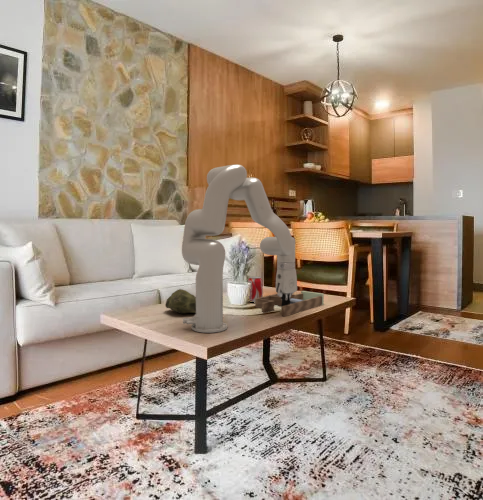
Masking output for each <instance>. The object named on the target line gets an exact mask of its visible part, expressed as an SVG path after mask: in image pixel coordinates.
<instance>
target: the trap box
mask: <svg viewBox="0 0 483 500" xmlns="http://www.w3.org/2000/svg"><path fill="white" fill-rule="evenodd" d="M277 294H278V293H277V292H276V293H274V294H270V295H269V294H268V295H265V296H263V297H260V298H255V303H254V305H255V306H254V307H255V308H256V309H261V313H262V312H263V314H264V313H265V314H266V313H269V312H271V311H272V310H273V311H274V310H275V305H278V306H277V307H280V308H281V317H287V316H291V315H294V314H297V312H298V313H300V311H301V312H304V311H307V310H311V309H314V308H316V307H320V306H323V305H322V296H318V297H314V298H311V299H307V300H303V294H302V293H301V292H300V293H297V294H295V293H294V294H292V295H291V299H292V298H293V299H300V300H303V301H300V302H296V303H292V304H289V305H285V306H282V300H281V297H279V296H277ZM268 311H269V312H268Z"/></svg>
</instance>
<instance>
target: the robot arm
mask: <svg viewBox="0 0 483 500" xmlns="http://www.w3.org/2000/svg"><path fill="white" fill-rule="evenodd" d="M247 176H248V172H247V169H246V168H245V167H244V166H243V165H242V164H230V165H229V164H228V165H224V166H218V167H214V168H212V169H210V170H209V171H208V172H207V175H206V183H207V184H208V186H207V188H206V191H205V195H204V197H203V198H204V200H203V205H202V209H201V208H199V209H197V208H196V209H194V210H192V211H191V212H189V214H188V215H187V217H186V219H185V223H184V228H183V236H182V241H181V242H182V243H181V255H182V258H183V260H184V261H185V262H186V263H188V264H189V265H192V266H193V265H194V266H198V269H197V271H196V276H195V297H196V313H195V314H194V315H193V316H191V317H183V318H182V324H183V325H184V324H185V325H191V330H192V331H194V332H197V333H204V334H209V333H211V334H213V333H219V332H223V331H225V330H227V329H228V324H227V323H226V322H224V317H223V316H224V313H223V312H224V311H223V310H224V309H223V308H224V304H223V303H224V298H223V297H224V292H223V291H224V290H223V287H224V285H223V281H224V280H223V278H224V275H223V274H224V264H225V260H226V249H225V247H224V245H223V244H222V243H221V242H220V241H218V240H216V239H211V238H207V237H206V236H208V237H209V236H212V237H213V236H219V235H221V234H222V233H223V232H224V230H225V226H226V220H227V212H228V206H229V200H230V199H231V200H235V201H244V202H245V204H246V207H247V210H248V211H249V215H250V217H251V219H252V221H253V222H255V223H257V224H258V225H260V226H262V227H264V228H266V229H268V230H269V231H271V233H272V234H273V235H274V236H266V237H264V238H263V239H262V240H261V241H260V243H259V249H260V251H261V253H263V254H265V255H269V256H276V257H277V258H276V275H275V292H276V294H277V293H278V294H277V296H279V297H281V300H282V306H285V305H289V304H290V299H291V295H292V294H294V295H295V293H296V292H297V291H298V276H297V270H296V239H295V237H292V234H291V231H290V229H289V227H288V226H287V224H286V223H285V222H284V221H283V220H282V219H281V218H280V217H279V216H278V215H277V214H276V213H274V211H273V209H272V206H271V204H270V201H269V198H268V195H267V193H266V191H265V188H264V185H263V183H262V181H261V180H260V179H259V178H257V177H247Z"/></svg>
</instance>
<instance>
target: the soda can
mask: <svg viewBox="0 0 483 500" xmlns="http://www.w3.org/2000/svg"><path fill="white" fill-rule="evenodd" d="M248 282H250V283H251V289H250V296H249V299H250V301H252V302H255V298H260V297H264V296H263V293H264V292H263V291H264V289H263V288H264V287H263V286H264V284H263V283H264V282H263V280H262V277H261V276H260V275H259V276H257V275H255V276H254V275H252V276H251V275H250V276H248V279H247V283H248Z"/></svg>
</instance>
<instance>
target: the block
mask: <svg viewBox="0 0 483 500" xmlns="http://www.w3.org/2000/svg"><path fill="white" fill-rule="evenodd" d="M300 301H303V300H300V299H293V298H292V299H290V304H292V303H296V302H300Z"/></svg>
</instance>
